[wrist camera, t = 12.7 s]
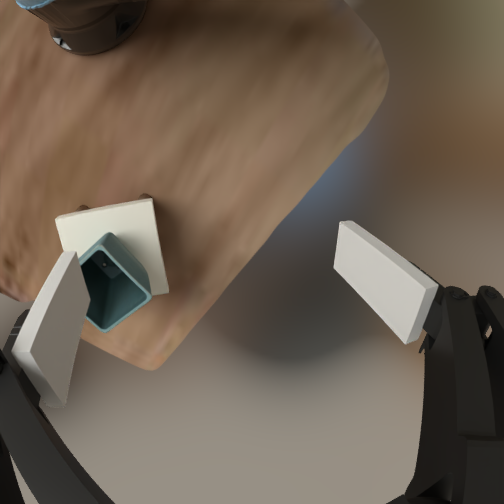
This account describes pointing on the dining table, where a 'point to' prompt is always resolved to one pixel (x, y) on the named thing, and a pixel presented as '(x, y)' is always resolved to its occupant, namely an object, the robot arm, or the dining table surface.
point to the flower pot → (113, 282)
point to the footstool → (119, 234)
